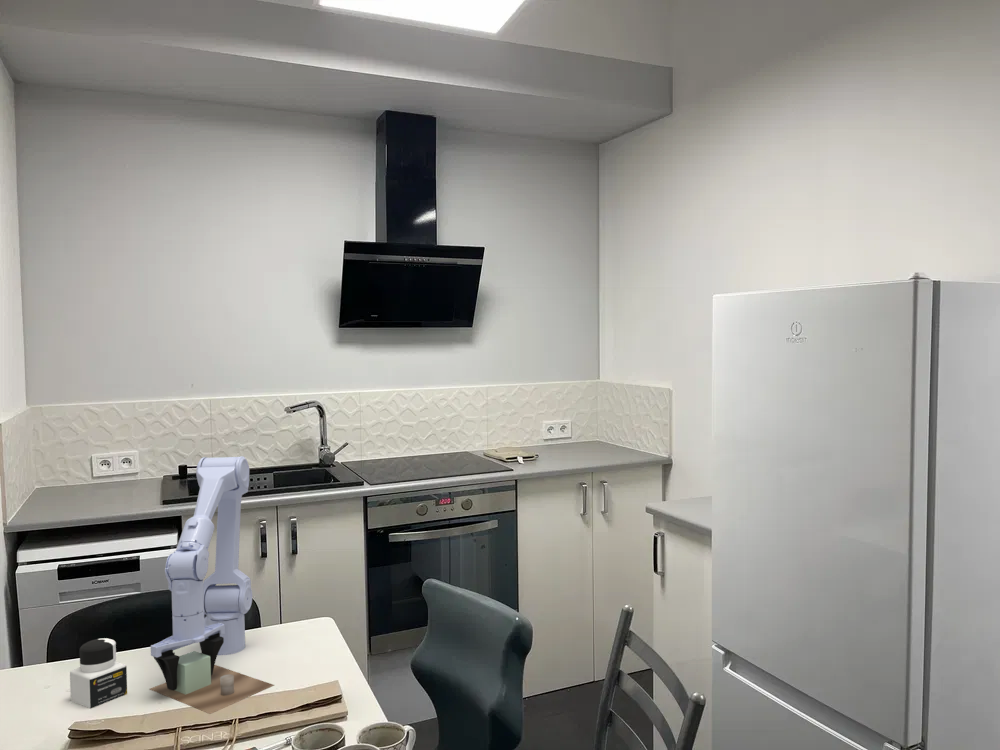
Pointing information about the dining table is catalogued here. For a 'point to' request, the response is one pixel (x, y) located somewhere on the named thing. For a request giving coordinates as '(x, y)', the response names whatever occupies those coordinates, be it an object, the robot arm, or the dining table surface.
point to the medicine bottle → (98, 674)
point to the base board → (218, 690)
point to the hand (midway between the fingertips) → (190, 681)
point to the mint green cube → (193, 672)
